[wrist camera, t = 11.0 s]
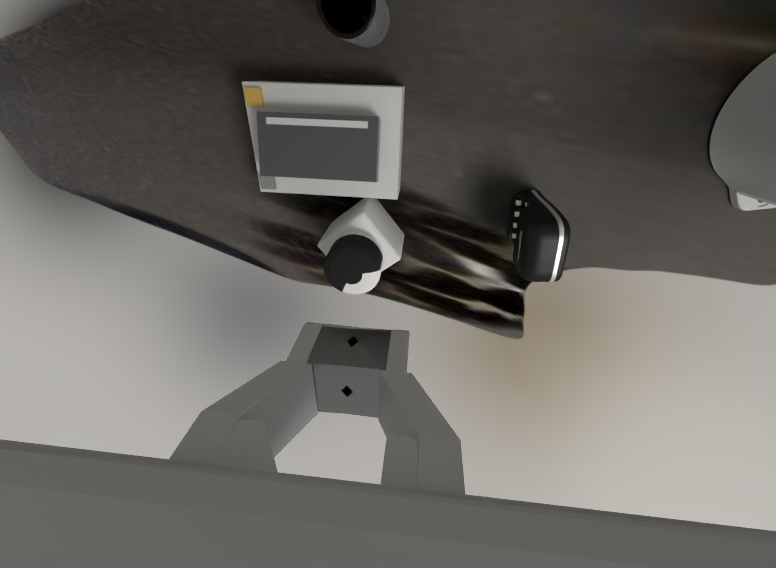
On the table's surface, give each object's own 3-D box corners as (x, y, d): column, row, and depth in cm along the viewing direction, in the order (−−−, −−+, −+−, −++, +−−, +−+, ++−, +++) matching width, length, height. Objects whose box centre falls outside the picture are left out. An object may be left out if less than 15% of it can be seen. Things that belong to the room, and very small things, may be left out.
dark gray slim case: (380, 119, 34) (378, 116, 32) (378, 182, 36) (375, 182, 34) (264, 114, 35) (255, 110, 33) (267, 175, 36) (259, 175, 35)
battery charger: (506, 188, 40) (530, 225, 31) (539, 187, 40) (575, 223, 30) (501, 242, 44) (521, 289, 34) (531, 241, 44) (560, 289, 34)
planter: (347, 49, 35) (319, 41, 26) (341, -9, 32) (310, -39, 24) (391, 46, 34) (378, 37, 26) (389, -13, 32) (374, -45, 23)
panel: (404, 86, 36) (401, 87, 32) (399, 189, 42) (396, 201, 38) (258, 80, 37) (237, 81, 33) (273, 182, 43) (257, 193, 39)
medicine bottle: (330, 222, 45) (302, 266, 35) (371, 191, 42) (354, 228, 32) (364, 261, 48) (347, 312, 38) (405, 234, 45) (398, 281, 35)
